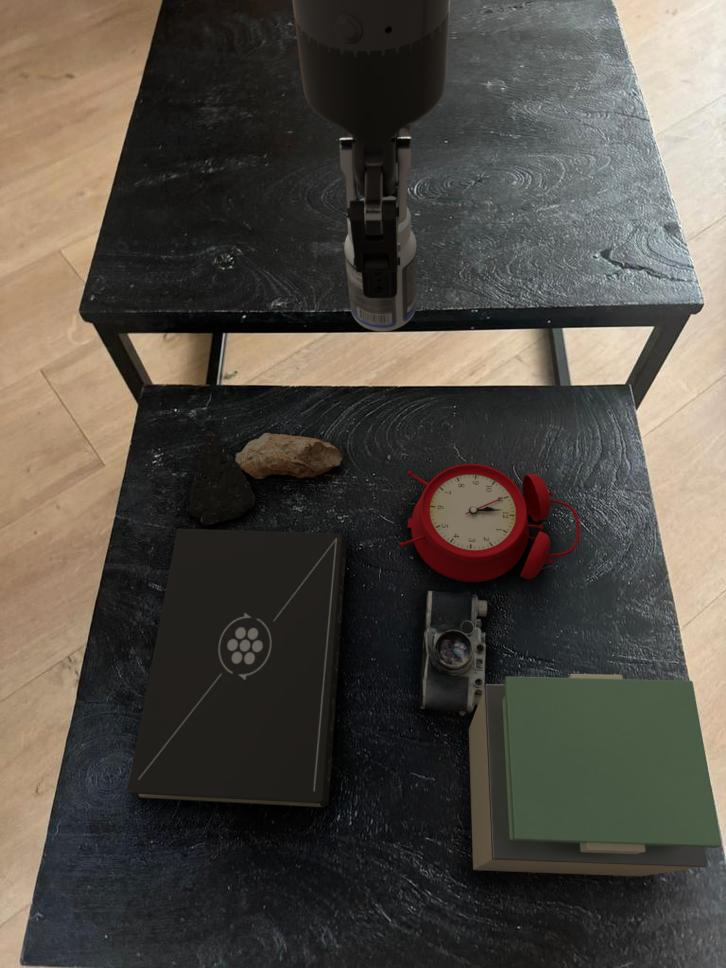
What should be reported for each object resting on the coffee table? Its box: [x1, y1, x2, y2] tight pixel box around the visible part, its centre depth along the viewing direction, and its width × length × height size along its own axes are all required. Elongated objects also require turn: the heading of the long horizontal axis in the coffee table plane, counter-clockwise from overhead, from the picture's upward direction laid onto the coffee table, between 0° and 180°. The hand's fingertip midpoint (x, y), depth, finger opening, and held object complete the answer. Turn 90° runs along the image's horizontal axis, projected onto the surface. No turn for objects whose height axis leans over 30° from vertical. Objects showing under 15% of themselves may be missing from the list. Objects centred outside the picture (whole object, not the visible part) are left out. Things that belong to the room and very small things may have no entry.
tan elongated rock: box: [234, 432, 343, 480], centre depth 72 cm, size 10×4×5 cm
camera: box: [418, 590, 488, 717], centre depth 61 cm, size 5×10×4 cm, turn 173°
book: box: [126, 528, 348, 809], centre depth 62 cm, size 22×15×3 cm
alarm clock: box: [398, 463, 581, 583], centre depth 67 cm, size 10×6×15 cm
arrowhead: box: [187, 430, 256, 527], centre depth 72 cm, size 6×1×10 cm
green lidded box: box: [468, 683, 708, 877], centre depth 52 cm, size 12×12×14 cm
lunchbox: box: [502, 673, 722, 854], centre depth 44 cm, size 11×9×4 cm
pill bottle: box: [343, 196, 418, 332], centre depth 51 cm, size 5×5×8 cm
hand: (381, 262), depth 51 cm, fingers closed on pill bottle, 4 cm apart
